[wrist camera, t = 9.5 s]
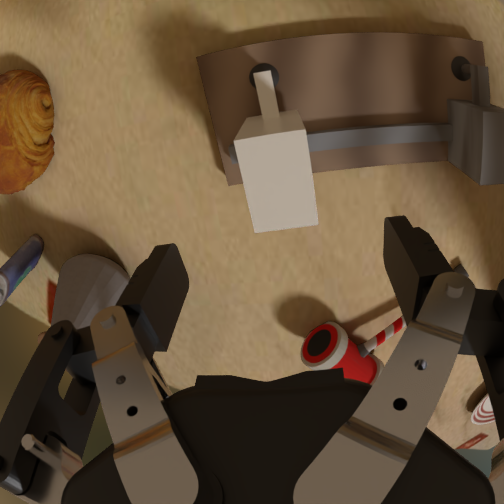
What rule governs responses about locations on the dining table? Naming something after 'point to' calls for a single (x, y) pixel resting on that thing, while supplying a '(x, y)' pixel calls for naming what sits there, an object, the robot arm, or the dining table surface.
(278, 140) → the gauge slider
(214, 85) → the base
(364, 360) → the toy hammer
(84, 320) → the coffee pot
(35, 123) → the croissant
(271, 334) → the dining table surface
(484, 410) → the dinner plate
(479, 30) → the dining table surface
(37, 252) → the flask
